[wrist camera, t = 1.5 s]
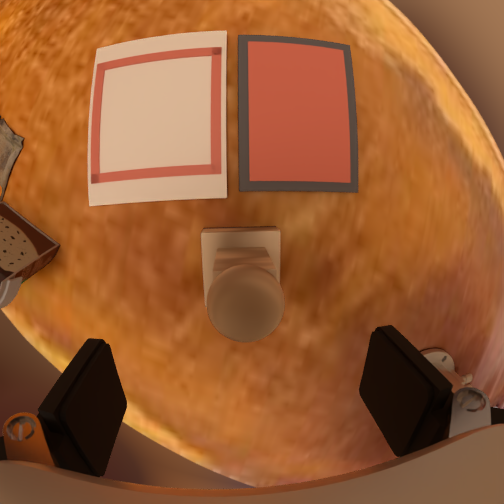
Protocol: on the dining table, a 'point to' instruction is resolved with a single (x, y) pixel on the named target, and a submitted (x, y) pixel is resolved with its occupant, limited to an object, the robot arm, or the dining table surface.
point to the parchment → (7, 152)
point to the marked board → (159, 120)
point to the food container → (20, 252)
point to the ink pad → (296, 115)
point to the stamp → (242, 280)
